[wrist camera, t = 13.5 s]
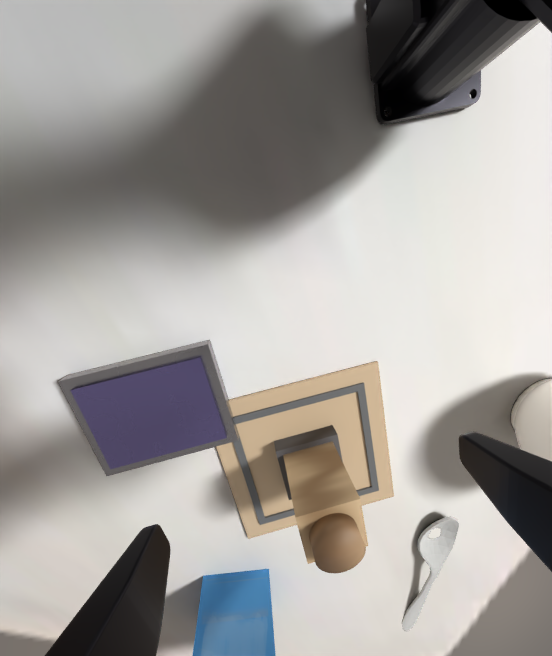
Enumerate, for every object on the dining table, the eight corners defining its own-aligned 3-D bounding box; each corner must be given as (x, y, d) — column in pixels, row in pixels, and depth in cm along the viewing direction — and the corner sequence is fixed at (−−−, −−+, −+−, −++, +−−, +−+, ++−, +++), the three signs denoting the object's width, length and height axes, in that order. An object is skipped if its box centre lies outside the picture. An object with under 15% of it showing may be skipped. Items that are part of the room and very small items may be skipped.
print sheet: (376, 361, 20) (379, 362, 20) (392, 494, 24) (394, 497, 24) (203, 406, 19) (202, 409, 19) (248, 536, 23) (248, 540, 23)
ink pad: (209, 339, 18) (207, 345, 17) (238, 431, 20) (238, 443, 19) (67, 374, 18) (54, 383, 16) (113, 465, 20) (104, 479, 19)
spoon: (457, 502, 26) (471, 517, 24) (417, 636, 31) (426, 656, 30) (420, 504, 25) (432, 520, 24) (385, 640, 31) (393, 661, 29)
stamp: (332, 424, 21) (377, 509, 14) (341, 472, 22) (386, 570, 15) (273, 440, 21) (288, 535, 14) (286, 487, 22) (306, 595, 15)
